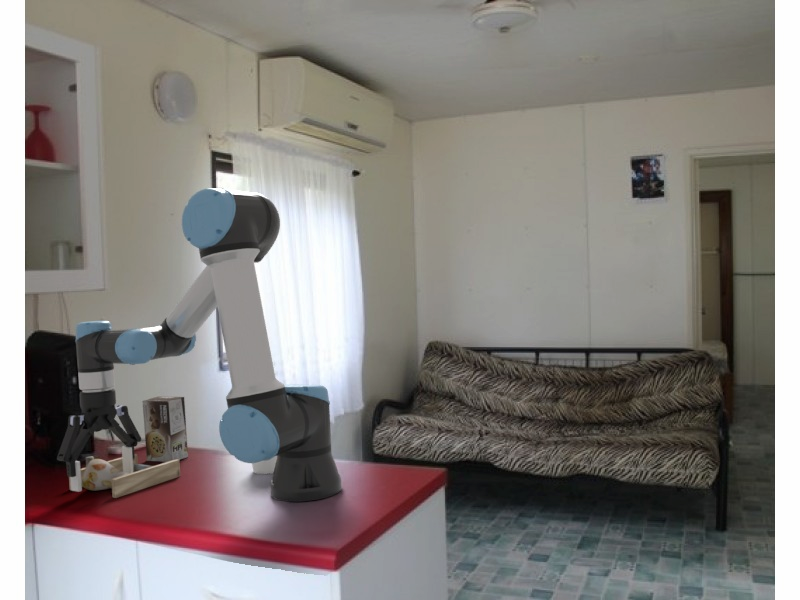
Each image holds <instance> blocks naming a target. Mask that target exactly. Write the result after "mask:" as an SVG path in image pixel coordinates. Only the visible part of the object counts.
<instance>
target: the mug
mask: <svg viewBox="0 0 800 600" xmlns="http://www.w3.org/2000/svg"><path fill="white" fill-rule="evenodd" d="M85 468H86V469H85V472H84V475H83V478H82V485H83V487H82V488H84V489H86V490H88V491H92V492H93V491H97V492H98V491H103V490H110V489H112V482H111V479H114V478H117V477H120V476H123V475H127V474H128V473H126V472H123V471H119V470H117V469H116V468H114V467H113V466H112V465H111V464H109V463H108V462H107V461H106V460H104V459H101V458H94V459H93V460H91V461H90V462H89V463H88V465H87V466H86V465H85Z"/></svg>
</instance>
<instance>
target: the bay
mask: <svg viewBox="0 0 800 600" xmlns="http://www.w3.org/2000/svg"><path fill="white" fill-rule="evenodd" d="M106 462H108V463H109V464H111V465H112V466H113V467H114V468H116V469H117V470H119V471H123V461H122V456H121V457H117V458H114V459H111V460H108V461H106ZM180 468H181V466H180V460H177V459H175V460H172V461H169V462H162V463H160V464H156V465H150V464H142V463H138V454H137V453H135V458H134V459H133V473H130V474H127V475H123V476H120V477H117V478H114V479H111V482H112V488H111V493H112V498H114V499H117V498H120V497H123V496H126V495H129V494H133V493H135V492H138V491H141V490H144V489H147V488H150V487H153V486H156V485H158V484H162V483H164V482H167V481H171V480H174V479H176V478H180V477H181V469H180ZM85 469H86V467H82V468H80V470H81V485H82V478H83V475H84V472H85ZM68 483H69V485H68V486H69V490H70V491H72V490H71V481H70V477H68ZM82 488H84V487H83V485H82Z"/></svg>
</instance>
